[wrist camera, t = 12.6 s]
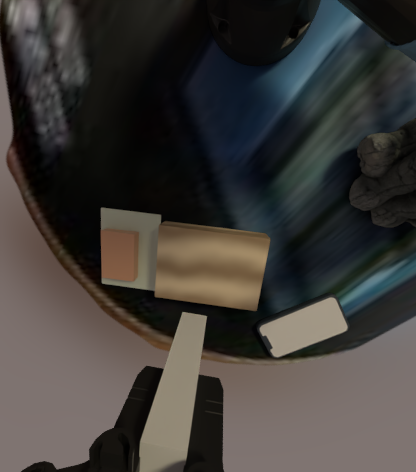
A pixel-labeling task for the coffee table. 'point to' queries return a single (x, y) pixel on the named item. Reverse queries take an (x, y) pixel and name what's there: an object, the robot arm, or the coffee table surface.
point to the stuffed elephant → (387, 177)
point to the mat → (147, 243)
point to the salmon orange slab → (119, 254)
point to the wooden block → (210, 265)
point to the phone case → (303, 325)
